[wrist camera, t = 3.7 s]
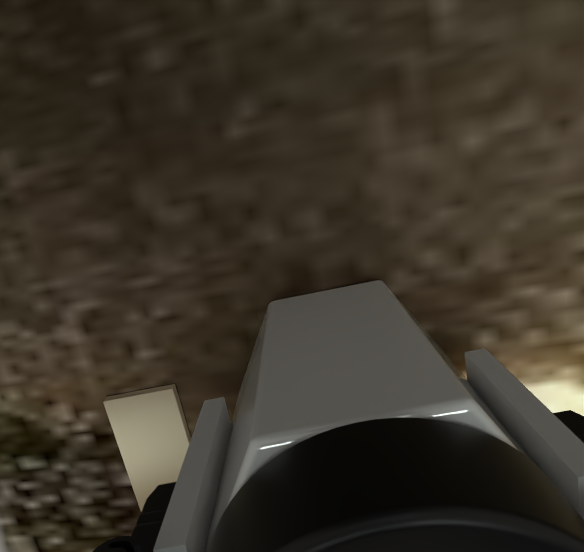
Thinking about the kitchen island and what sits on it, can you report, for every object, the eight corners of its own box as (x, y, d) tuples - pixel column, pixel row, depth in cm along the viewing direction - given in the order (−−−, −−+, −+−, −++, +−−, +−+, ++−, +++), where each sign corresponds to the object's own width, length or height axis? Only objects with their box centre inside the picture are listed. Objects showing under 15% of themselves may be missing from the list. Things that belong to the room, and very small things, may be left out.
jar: (197, 362, 19) (51, 693, 7) (347, 234, 17) (464, 387, 6) (335, 496, 21) (396, 936, 9) (480, 389, 19) (775, 743, 8)
